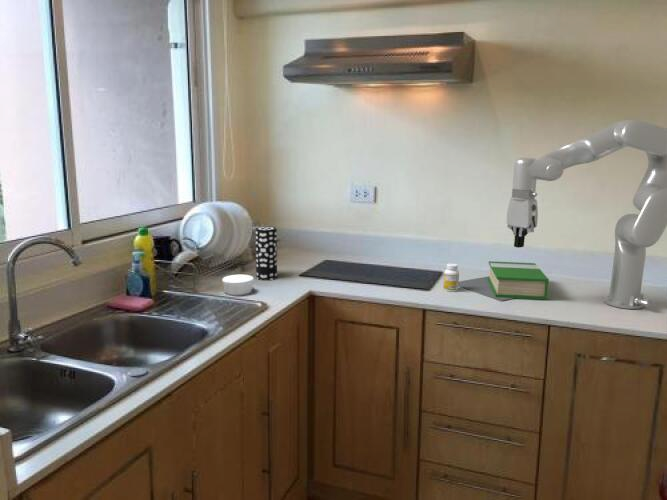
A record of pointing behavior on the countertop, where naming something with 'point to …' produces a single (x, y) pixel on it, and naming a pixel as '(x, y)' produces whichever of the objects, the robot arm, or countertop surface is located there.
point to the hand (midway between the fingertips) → (518, 246)
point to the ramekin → (238, 284)
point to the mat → (481, 287)
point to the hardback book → (517, 280)
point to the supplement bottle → (451, 278)
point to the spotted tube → (266, 253)
